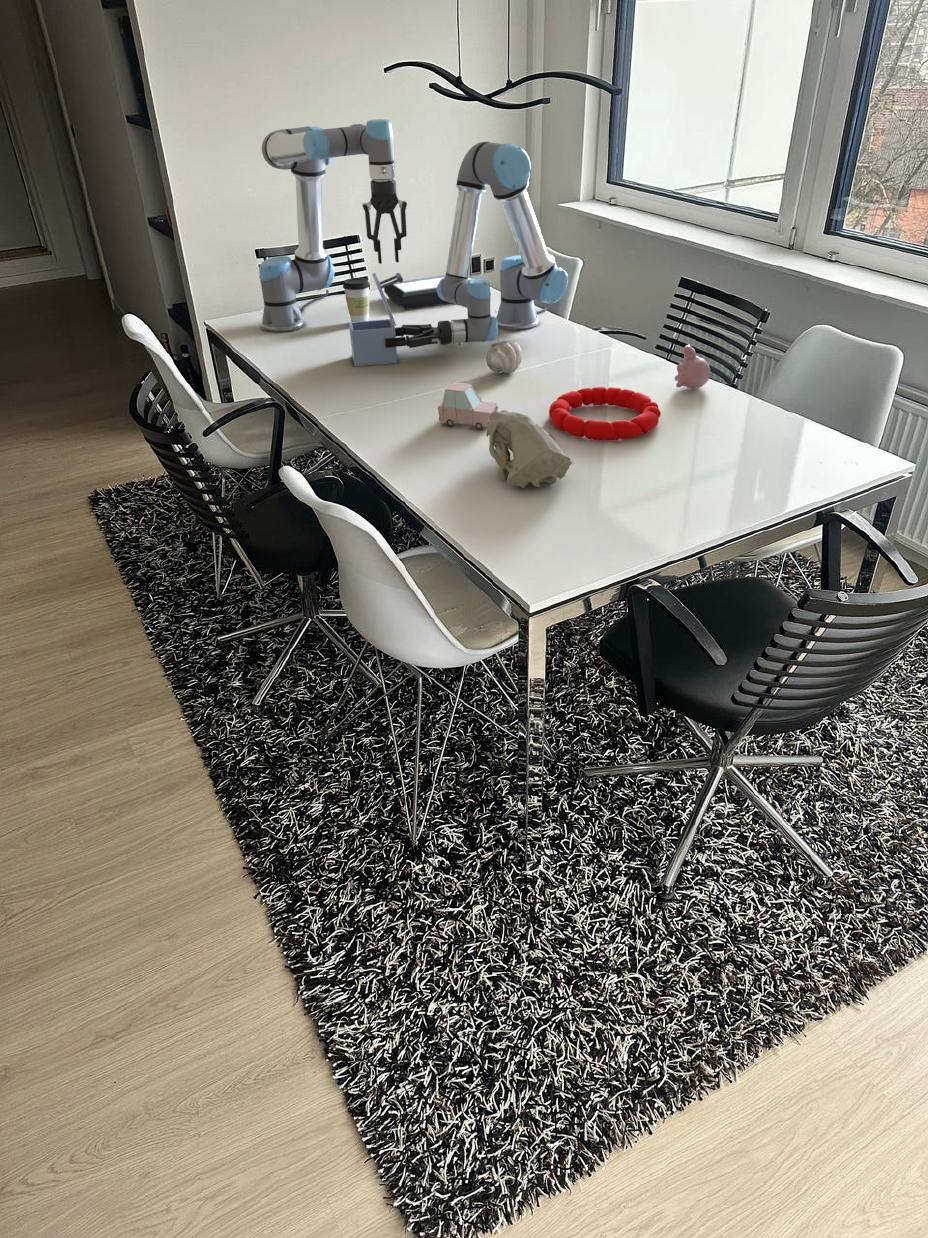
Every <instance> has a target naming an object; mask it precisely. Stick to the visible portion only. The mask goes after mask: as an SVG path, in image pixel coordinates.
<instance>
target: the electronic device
mask: <svg viewBox="0 0 928 1238" xmlns="http://www.w3.org/2000/svg"><path fill="white" fill-rule="evenodd" d="M444 277H445V275H438V276H431V277H424V278H416V279H409V280H403V281H402V282H396V283H394V284H392V285H389V286H387V287H384V288H383V293H384V294H385V295H386V296H387V297H388V299H389V300H390V301H391V302H393V303H395V304H396V305H398V306H399V307H401V308H402V309H404V310H405V311H406V310H410V309H412V310H413V309H417V308H424V307H432V306H439V305H445V304H446V305H447V304H450V303H449V302H447V301H445V300H442V299H441V298H440V297H439V296H438V293H437V285H438V283H439V282H440V280H441V279H442V278H444ZM469 280H470V279H468V281H469ZM468 281H467V282H468Z"/></svg>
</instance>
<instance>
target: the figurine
mask: <svg viewBox="0 0 928 1238" xmlns="http://www.w3.org/2000/svg"><path fill="white" fill-rule="evenodd" d="M682 354H683V358H684V359H683V361H682V362H679V363H678V364H677V365H676V372H677V375H675V376H674V381H675V382H676V381H677V382H676V384H675V386H676V388H681V387H686V388H688V389H693V390H694V389H695V390H696V389H700V388H703V387H704V386H705V385H706V384H707V383H708V382H709V379H710V377H711V367H710V364H709V362H708V361H706V359H704V358H702V357H700V356H697V353H696V350H695V349H694V347H692V345H690V344H686V345H685V346H684V347H683V348H682Z"/></svg>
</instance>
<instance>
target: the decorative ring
mask: <svg viewBox="0 0 928 1238" xmlns="http://www.w3.org/2000/svg"><path fill="white" fill-rule="evenodd" d="M583 405H584V406H586V407H587V406H591V405H593V406H604V405H608V406H614V407H619V408H624V409H628V410H632V411H635V412H636V413H638V414H639V415H637V416H635V417H632V418H631V419H630V420H625V419H624V420H623V419H622V420H614V421H611V422H609V421H607V420H606V421H605V420H593V419H587V420H586V421H585V419H584V418H582V417H579V416H577V415H573V414H571V413H570V410H571V409H579V408H581V407H582V406H583ZM548 416H549V419H550V422H551V423H552V425H553V426H554V427H555V428H556V429H558V430H559V431H561V432H563V433H567V434H568V435H569V436H573V437H576V438H580V439H582V438H583V437H585V438H586V439H587V440H591V441H601V442H602V441H603V442H608V441H609V442H610V441H611V442H612V441H615V442H616V441H618V440H630V439H634V438H638V437H641V436H642V434H647V433H650V432H651V431H653V430H654V429H655V428H656V427H657V426H658V424H659V422H660V421H659V420H660V417H661V410H660V408H659V405H658V403H657V402H656V401H652V399H651V397H649V396H648V395H646V394H644V393H642V392H635V391H634V390H632V389H628V388H624V389H622V388H620V387H613V386H612V387H611V386H610V387H608V388H606V387H604V386H594V387H585V388H584V387H583V388H580V389H578V390H571V391H568V392H565V393H563V394H561V395H560V396H558V397H557V398H556V400H554V401H552V403H551V404H550V407H549V409H548Z"/></svg>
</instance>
